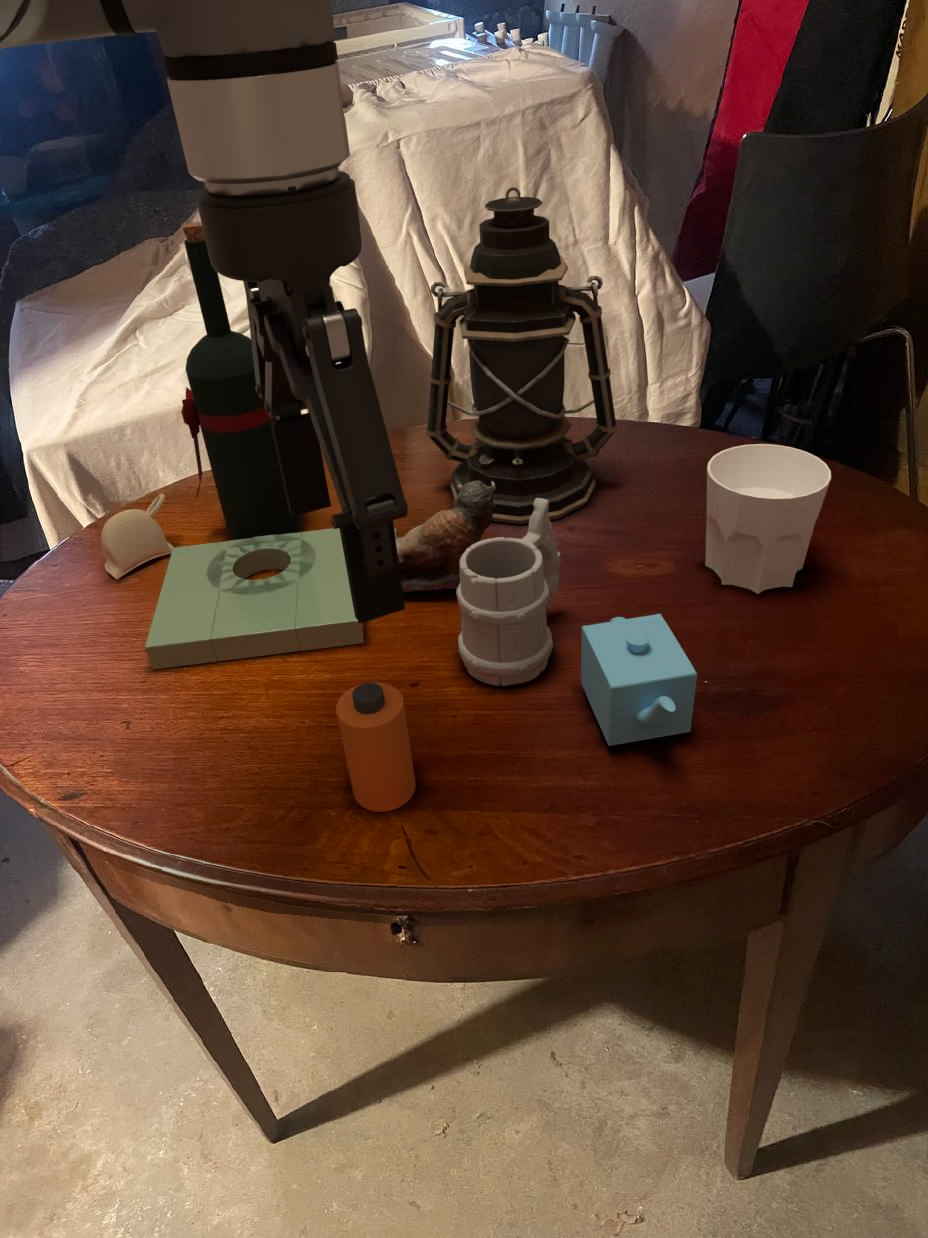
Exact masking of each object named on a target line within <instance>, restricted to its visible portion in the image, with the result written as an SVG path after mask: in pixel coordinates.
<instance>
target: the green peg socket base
mask: <svg viewBox="0 0 928 1238" xmlns="http://www.w3.org/2000/svg"><path fill="white" fill-rule="evenodd" d="M173 547H174V546H173ZM169 557H170V558H169V560H168V564H167V568H166V571H165V576H164V578H163V582H162V586H161V589H160V593H159V596H158V600H157V603H156V606H155V611H154V614H153V617H152V620H151V623H150V628H149V630H148V636H147V638H146V642H145V646H144V649H145V652H146V655H147V657H148V660H149V663H150V666H151V669H152V670H153V671H154V670H155V671H156V670H162V669H171V668H176V667H177V668H178V667H186V666H192V665H193V666H194V665H202V664H209V663H210V664H211V663H217V662H224V661H233V660H242V659H249V658H257V657H264V656H272V655H279V654H280V655H281V654H288V653H289V654H290V653H297V652H304V651H313V650H320V649H329V648H337V647H344V646H353V645H359V644H365V636H364V633H365V632H364V622H363V623H360V624H359V622H358V621H357V619H356V617H355V613H354V608H353V602H352V596H351V591H350V585H349V579H348V574H347V568H346V563H345V557H344V551H343V546H342V540H341V534H340V529H339V528H337V529H334V528H333V527H331V528H324V529H316V530H308V531H299V532H298V533H290V534H281V535H268V536H259V537H253V538H248V539H240V540H227V541H226V540H224V541H218V542H209V543H200V544H193V545H183V546H176V547H174V548H173V550H172V553H171V554H170V556H169ZM270 570H279V571H281V572H279V573H277V574H275V575H273V576H269V577H267V578H262V579H261V578H260V579H247V578H248V577H250V576H252V575H254V574H257V573H261V572H264V571H270Z"/></svg>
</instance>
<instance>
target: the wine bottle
mask: <svg viewBox="0 0 928 1238" xmlns="http://www.w3.org/2000/svg"><path fill="white" fill-rule="evenodd" d="M182 231H183V233H184V236H185V240H184V241H183V243H184V247H185V251H186V255H187V259H188V264H189V267H190V272H191V275H192V280H193V284H194V287H195V292H196V296H197V300H198V304H199V308H200V312H201V316H202V320H203V325H204V328H205V332H206V335H204V336H202V337H201V338H200V339H199V340H198V341H197V342H196V343H195V344H194V345H193V347H192V348H191V349H190V351H189V353H188V355H187V357H186V363H185V373H186V377H187V380H188V384H189V387H188V386H186V387H185V398H184V399H182V400H181V402H182V403H181V404H182V407H181V410H180V412H181V416H182V420H183V423H184V424H185V425H186V426H188V428H189V432H190V436H191V439H193V444H194V445H193V446H194V452H195V458H196V465H197V466H196V467H197V472H198V479H199V483H198V486H197V489H196V495H195V500H194V502H197V499H198V496H199V493H200V490H201V484H202V478H203V468H202V467H203V466H202V461H201V451H200V444H199V436H198V435H199V433H200V432H201V434H202V435H201V436H202V439H203V442H204V446H205V450H206V454H207V458H208V461H209V466H210V469H211V470H210V471H211V474H212V478H213V481H214V485H215V489H216V492H217V496H218V497H217V498H218V500H219V504H220V509H221V512H222V515H223V519H224V523H225V527H226V532H227V535H228V537H229V541H231V540H240V539H248V538H253V537H259V536H268V535H281V534H290V533H298V532H300V530H301V528H302V527H303V524H304V522H303V518H302V515H298V516H294V517H292V515H291V514H290V512H289V507H288V502H287V498H286V493H285V488H284V484H283V479H282V474H281V470H280V465H279V460H278V456H277V451H276V446H275V442H274V437H273V432H272V428H271V423H270V422H271V421H276V420H277V419H276V417H270V416H269V414H268V412H266V410H265V398H262V399H261V398H260V396H259V393H257V391H256V388H255V386H256V379H255V370H254V361H253V352H252V343H251V337H250V336H247V335H245V334H243V333H241V332H237V331H234V330H232V328H231V324H230V320H229V315H228V312H227V307H226V303H225V298H224V294H223V290H222V285H221V281H220V277H219V273H218V272H217V271H216V270H215V269H214V268H213V266H212V264H211V262H210V258H209V253H208V249H207V245H206V240H205V236H204V232H203V227H202V223H201V221H194V222H185V223H184V224H183V226H182ZM200 430H201V431H200Z"/></svg>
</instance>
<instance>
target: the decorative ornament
mask: <svg viewBox="0 0 928 1238" xmlns="http://www.w3.org/2000/svg"><path fill="white" fill-rule="evenodd" d="M165 499H166V495H165V494H164V493H159V494H157V496H156V497H155V498H154V499H153V500H152V502H151V503H150V504H149V506H148V508H147V509H146V510H143V509H138V508H130V509H126V510H123V511H119V512H117V513H116V514H114V515H113V516H111V517H110V518H108V520H107V521H106V522H105V523H104V524H103V527H102V530H101V532H100V537H101V538H100V544H101V549H102V554H103V556H104V559H105V563H104V569H105V570H106V572H107V573H108V574H109V575H110V576H111V577H112V578H114V580H116V581H117V580H119V579H120V578H122V577H123V576H125V575H126V574H127V573H129V572H131V571H132V570H134V569H135V568H137V567H139V566H140V565H142V564H145V563H146V562H149V561H151V560H153V559H155V558H159V557H162V556H166V555H171V554H172V550H173V548H174V546H173V545H172V544H171V543H170V542H168V541H167V539H166V536H165V533H164V532H163V529H162V528H161V526H160V524H159V523H158V521H157V520H156V519H155V517H156V515H157V514H158V513H159V511H160V509H161V507H162V506H163V504H164V502H165Z"/></svg>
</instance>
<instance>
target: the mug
mask: <svg viewBox="0 0 928 1238" xmlns="http://www.w3.org/2000/svg"><path fill="white" fill-rule="evenodd" d="M533 505H534V511H533V513H532V516H531V517H530V520H529V523H528V529H527V533H526V534H525V535H524V537H521V538H517V537H504V536H498V537H492V538H491V537H490V538H487V539H483V540H481V541H479V542H477V543H475V544H473V545H471V546H470V547H469V548H467V549H466V551H465V553H464V554H463V555H462V556H461V558H460V584H459V587H458V588H456V591H455V594H456V598H457V603H458V606H459V609H460V613H461V616H460V617H461V620H460V621H461V623H460V624H461V625H460V627H461V628H460V629H461V630H460V632H459V635H458V637H457V647H458V653H459V656H460V658H461V660H462V661H463V665H464V668H466V671H467V673H468V674H469V675H470V676H471V677H473V678H474V679H476V680H478V681H480V682H482V683H485V684H487V685H491V686H496V687H497V686H498V687H500V686H501V687H507V686H511V685H517V684H525V683H527V682H530V681H532V680H534V679H536V678H537V677H538V676H539V675H541V672H544V671H545V669H546V668H547V665H548V663H549V662H548V661H549V658H550V656H551V653H552V650H553V647H554V641H553V635H552V632H551V630H550V628H549V626H548V622H547V611H548V610H551V609H552V606H553V602H554V597H555V594H557V593H558V591H559V590H558V589H559V583H560V572H559V569H560V567H561V553H560V552H559V551H558V547H557V545H558V541H557V540H556V537H555V533H554V530H553V526H552V522H551V520H549V514H548V508H549V501H548V500H547V499H542V498H536V499H535V501H534V504H533Z"/></svg>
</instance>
